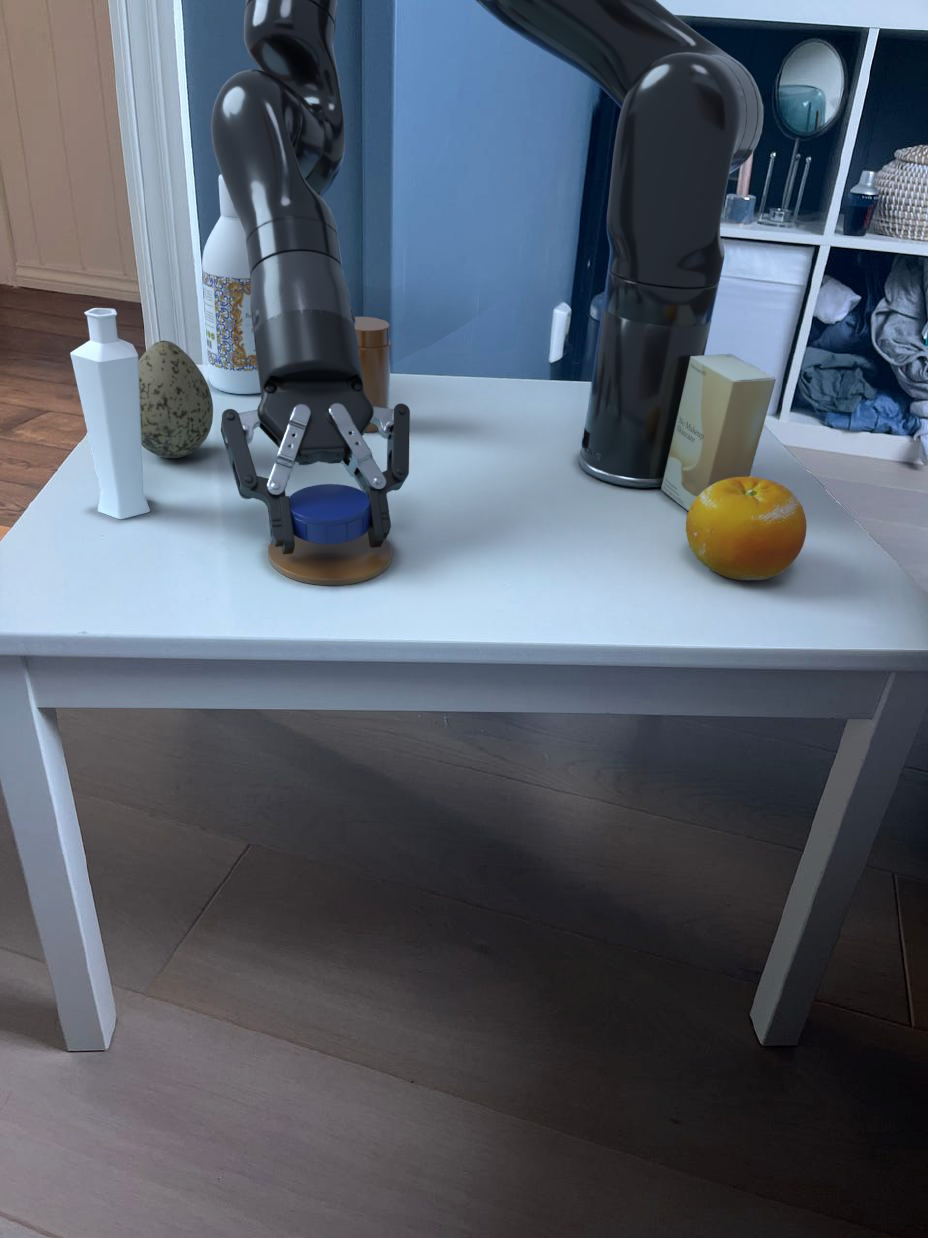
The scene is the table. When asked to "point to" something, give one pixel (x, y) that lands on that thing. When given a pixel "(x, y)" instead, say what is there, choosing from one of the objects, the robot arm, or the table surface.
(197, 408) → the decorative egg
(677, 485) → the cosmetic box
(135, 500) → the perfume bottle
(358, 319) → the jar
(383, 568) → the coaster
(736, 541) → the fruit
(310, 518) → the lid
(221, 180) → the bath foam
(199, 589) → the table surface
